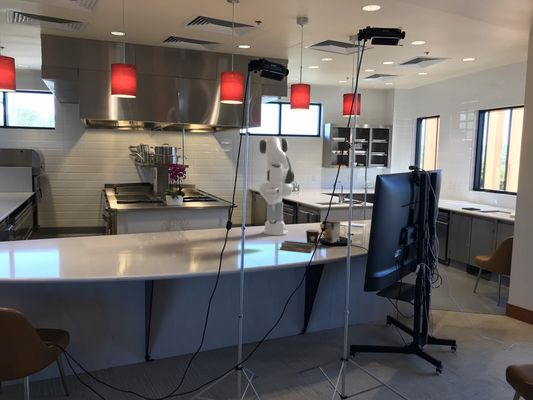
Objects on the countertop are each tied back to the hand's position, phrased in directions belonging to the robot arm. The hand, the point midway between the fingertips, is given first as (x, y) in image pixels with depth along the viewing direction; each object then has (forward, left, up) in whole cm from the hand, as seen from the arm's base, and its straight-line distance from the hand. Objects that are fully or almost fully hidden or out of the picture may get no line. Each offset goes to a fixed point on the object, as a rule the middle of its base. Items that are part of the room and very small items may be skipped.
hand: (274, 210), depth 300 cm
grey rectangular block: (0, 0, -7) cm, 7 cm away
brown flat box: (+2, +17, -24) cm, 29 cm away
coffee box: (-23, +34, -24) cm, 48 cm away
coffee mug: (-14, +24, -24) cm, 37 cm away
